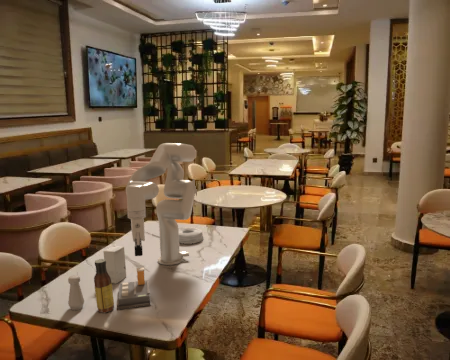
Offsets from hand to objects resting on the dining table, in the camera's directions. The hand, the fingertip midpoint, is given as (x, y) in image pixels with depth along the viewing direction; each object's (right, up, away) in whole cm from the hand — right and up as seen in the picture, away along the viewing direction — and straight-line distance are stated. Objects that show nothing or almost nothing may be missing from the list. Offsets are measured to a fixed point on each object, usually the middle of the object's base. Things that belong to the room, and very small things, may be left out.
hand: (138, 255), depth 168 cm
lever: (+2, -11, -3) cm, 12 cm away
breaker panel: (0, -15, -7) cm, 17 cm away
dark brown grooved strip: (+2, -17, -16) cm, 23 cm away
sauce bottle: (-9, -18, -18) cm, 27 cm away
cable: (+16, -3, +63) cm, 65 cm away
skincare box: (-12, -13, +9) cm, 20 cm away
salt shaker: (-21, -18, -16) cm, 31 cm away
